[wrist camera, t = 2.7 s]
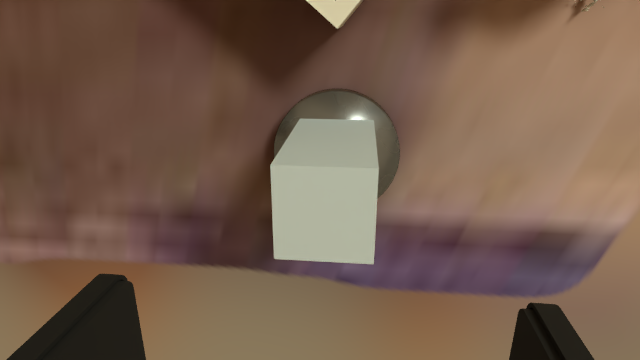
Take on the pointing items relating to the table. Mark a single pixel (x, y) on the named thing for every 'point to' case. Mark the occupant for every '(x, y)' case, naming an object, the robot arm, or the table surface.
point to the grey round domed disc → (348, 108)
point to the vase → (588, 6)
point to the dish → (336, 10)
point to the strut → (326, 192)
